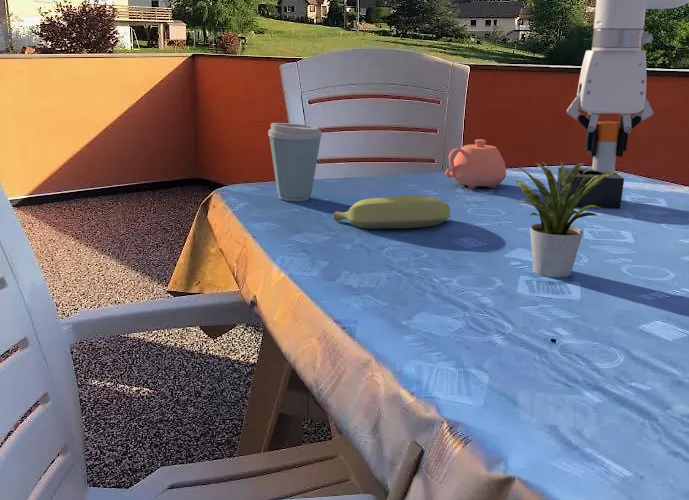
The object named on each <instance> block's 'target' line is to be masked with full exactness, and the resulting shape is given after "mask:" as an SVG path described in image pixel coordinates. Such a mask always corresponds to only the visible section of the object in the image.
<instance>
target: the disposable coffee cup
mask: <svg viewBox="0 0 689 500" xmlns="http://www.w3.org/2000/svg"><path fill="white" fill-rule="evenodd" d="M267 136H268V139H269V144H270V151H271V158H272V159H271V160H272V165H273V172H274V179H275V187H276V192H277V195H278V199H280V200H281V201H285V202H294V203H295V202H305V201H308V200H309V199H310V198H311V196H312V193H313V187H314V180H315V176H316V175H315V174H316V168H317V163H318V158H319V157H318V156H319V152H320V151H319V150H320V145H321V139H322V137H323V133H322V130H321V129H320V127H318V126H314V125H310V124H300V123H288V122H271V123H270V129H268V131H267Z"/></svg>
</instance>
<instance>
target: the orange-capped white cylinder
mask: <svg viewBox="0 0 689 500" xmlns="http://www.w3.org/2000/svg"><path fill="white" fill-rule="evenodd" d="M619 127H620V123H619V121H614V120H613V121H611V120H598V121H597V125H596V132H597V133H598V141H597V150H596V156H592V165H591V169H595V170H594V171H598V172H613V171H614V172H615V171H616V170H615V169H616V161H617V156H616V153H617V144H618V135H619Z"/></svg>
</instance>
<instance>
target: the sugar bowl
mask: <svg viewBox="0 0 689 500" xmlns="http://www.w3.org/2000/svg"><path fill="white" fill-rule="evenodd" d="M486 143H487V140H486V139H480V138H478V139H475V140H474V144H465V145H463V146H462V147H461V148H460V147H456V148H454V149H452V150H450V152H449V153H448V164H449V168H447V169H446V170H445V176H446V177H447V178H449V179H453V180H454V182H455V183H457V184H459V185H464V186H467V188H468V189H473V190H474V189H478V188H477V187H487V188H492V189H495V188H497V186H499V185H501V183H502V182H504V181H505V179H506V177H507V167H506V164H505V161H504V158H503V156H502V154H501V152H500V151H499V149H498V147H496V145H495V146H494V145H489V144H486ZM456 153H457V154H456ZM455 154H456V156H455V158H454V155H455Z"/></svg>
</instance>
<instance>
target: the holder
mask: <svg viewBox="0 0 689 500" xmlns="http://www.w3.org/2000/svg"><path fill="white" fill-rule="evenodd" d="M573 168H574V167H564V170H565V183H566V180H567V178H568V176H569V174H570V172H571V171H572V169H573ZM589 169H590V167H589V168H587V167H581V168H580V171H579V172H578V174H577V176H576V178H575V180H574V182H573V185H572V188H571V191H572V192H571V191H570V193H571V194H570V197H571V196H572V195H573V194H575V191H576V189H577V187H578V185H579V183H580V182H581V180H582V179H583V178H584V177H585V176H586V175H589V174H592V175H591V176H589V178H588V179H587V181H586V182H585V184H584V186H585V185H586V184H587V183H588V182H589V181H590V180H591V179H592V178H593V177H595V176H597V177H599V176H601V175H603V174H606V173H609V172H598V171H594V170H589ZM586 170H589V171H586ZM585 171H586V172H585ZM583 172H585V173H583ZM613 172H615V170H614V171H613ZM582 173H583V174H582ZM560 175H561V166H559V167H558V169H557V178H556V182H557V185H558V189H559V193H560ZM598 175H599V176H598ZM597 177H595V178H594V179H593V180H595V179H596V178H597ZM578 178H579V179H578ZM577 180H578V181H577ZM593 180H592V181H593ZM576 181H577V182H576ZM592 181H591V182H592ZM600 181H601V182H600ZM591 182H590V183H591ZM598 182H600V183H598ZM598 182H596V183H598V184H597V185H595V186H594V187H593V188H592V189H591V190H590V191H589V192H588V193H587V194H585V195H584V196H583V197H582V198H581V200H580V201H579V202H578V204H577V205H576V206H575V208H583V207H585V206H588V205H596V206H598V207H600V208H598V207H595V208H596V209H597V208H598V209H601V208H602V209H618V210H620V209H621V206H622V199H623V191H624V184H625V178H624V177H623V176H621V175H620V174H619V173H613V174H610V175H608V176H606V177H604V178H602V179H601V180H599V181H598ZM575 183H576V184H575ZM590 183H589V184H590ZM596 183H595V184H596ZM589 184H588V185H589ZM574 185H575V186H574ZM588 185H587V186H588ZM584 186H583V187H584ZM587 186H586V187H587ZM573 187H574V188H573ZM583 187H582V188H583ZM586 187H585V188H584V189H583V190H582V191H581V192H580V194H579V195H578V197H579V196H580V195H581V194H582V192H583V191H584V190H585V189H586ZM572 189H573V190H572ZM570 197H569V198H570Z"/></svg>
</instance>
